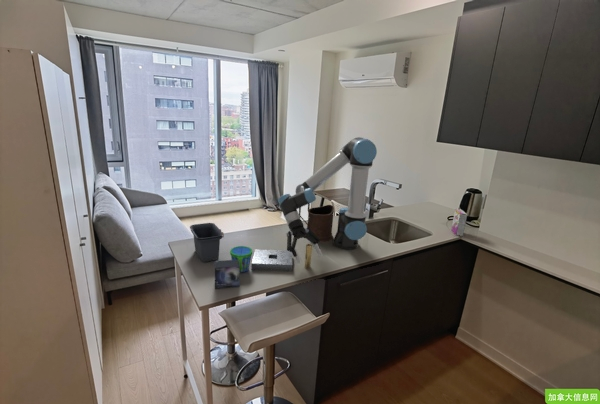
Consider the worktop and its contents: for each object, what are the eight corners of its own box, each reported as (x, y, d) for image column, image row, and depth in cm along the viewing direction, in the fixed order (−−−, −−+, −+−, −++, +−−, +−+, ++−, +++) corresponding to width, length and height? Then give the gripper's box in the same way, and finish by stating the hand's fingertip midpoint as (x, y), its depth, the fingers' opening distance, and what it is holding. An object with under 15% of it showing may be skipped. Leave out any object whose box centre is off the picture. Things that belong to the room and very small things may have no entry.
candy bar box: (450, 230, 222) (455, 208, 218) (457, 231, 222) (462, 209, 217) (455, 235, 212) (460, 213, 207) (463, 236, 211) (468, 214, 207)
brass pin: (310, 265, 157) (311, 244, 154) (310, 268, 154) (312, 246, 151) (304, 265, 157) (306, 244, 153) (304, 268, 154) (306, 246, 151)
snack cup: (249, 278, 142) (249, 258, 139) (226, 276, 142) (226, 257, 139) (254, 262, 157) (254, 244, 154) (233, 261, 157) (233, 243, 154)
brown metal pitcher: (338, 240, 191) (342, 202, 184) (303, 244, 182) (305, 204, 176) (325, 230, 208) (328, 194, 201) (292, 233, 199) (294, 196, 192)
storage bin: (189, 249, 167) (188, 224, 163) (217, 244, 175) (216, 221, 171) (198, 266, 150) (197, 239, 146) (228, 260, 158) (228, 234, 154)
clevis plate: (291, 256, 166) (292, 250, 165) (291, 271, 150) (292, 264, 149) (255, 255, 165) (255, 249, 164) (251, 269, 149) (251, 263, 148)
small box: (214, 289, 131) (214, 267, 128) (214, 281, 137) (214, 260, 134) (239, 287, 134) (239, 265, 131) (238, 279, 140) (238, 259, 137)
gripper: (309, 221, 170) (324, 256, 163) (271, 229, 155) (286, 267, 148) (316, 214, 164) (332, 250, 157) (277, 222, 149) (293, 262, 142)
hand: (310, 259), depth 152 cm, fingers open, 13 cm apart
